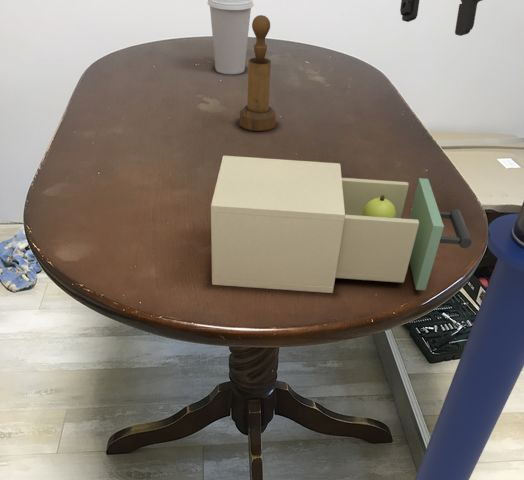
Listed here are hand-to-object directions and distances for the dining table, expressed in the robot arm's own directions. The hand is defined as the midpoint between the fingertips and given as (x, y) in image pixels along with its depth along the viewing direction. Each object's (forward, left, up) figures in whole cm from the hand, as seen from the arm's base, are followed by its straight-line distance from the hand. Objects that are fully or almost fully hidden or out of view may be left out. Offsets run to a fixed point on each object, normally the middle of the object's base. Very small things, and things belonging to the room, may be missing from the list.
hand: (436, 27), depth 75 cm
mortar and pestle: (+23, -25, -24) cm, 41 cm away
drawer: (+4, +20, -23) cm, 30 cm away
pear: (+6, +19, -22) cm, 30 cm away
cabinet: (+18, +19, -24) cm, 36 cm away
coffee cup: (+31, -55, -24) cm, 67 cm away
